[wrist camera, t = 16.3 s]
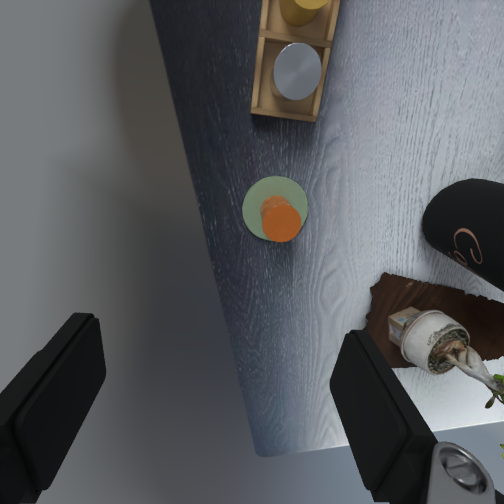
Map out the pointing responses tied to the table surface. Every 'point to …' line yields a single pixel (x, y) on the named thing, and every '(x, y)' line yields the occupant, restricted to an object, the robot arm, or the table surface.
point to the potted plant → (437, 329)
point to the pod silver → (295, 72)
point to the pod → (279, 219)
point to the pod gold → (300, 10)
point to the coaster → (266, 190)
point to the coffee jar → (469, 227)
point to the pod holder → (269, 47)
